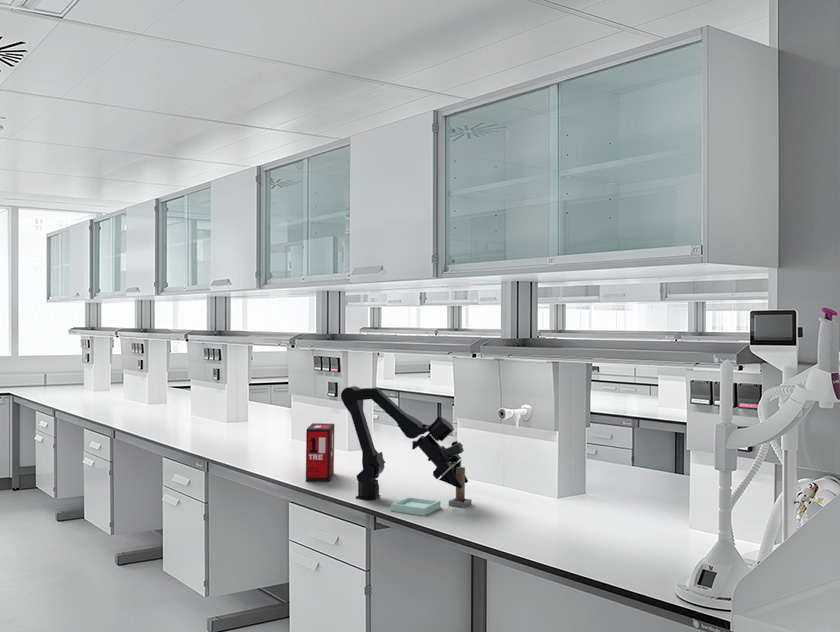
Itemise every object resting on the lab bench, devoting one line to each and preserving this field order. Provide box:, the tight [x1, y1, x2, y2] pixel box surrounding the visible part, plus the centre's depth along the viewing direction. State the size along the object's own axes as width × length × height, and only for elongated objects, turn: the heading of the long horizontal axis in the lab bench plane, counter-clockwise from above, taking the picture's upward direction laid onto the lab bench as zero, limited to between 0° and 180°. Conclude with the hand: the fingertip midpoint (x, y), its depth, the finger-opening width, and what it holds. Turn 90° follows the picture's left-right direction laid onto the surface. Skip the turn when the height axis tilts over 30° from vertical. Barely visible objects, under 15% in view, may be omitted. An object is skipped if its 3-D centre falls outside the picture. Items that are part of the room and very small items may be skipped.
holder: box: [448, 497, 472, 509], centre depth 260 cm, size 6×6×2 cm
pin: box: [455, 466, 466, 502], centre depth 260 cm, size 3×3×12 cm
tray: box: [390, 496, 441, 517], centre depth 253 cm, size 12×12×2 cm
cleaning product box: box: [305, 422, 335, 483], centre depth 302 cm, size 16×9×20 cm, turn 0°
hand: (464, 484), depth 259 cm, fingers open, 9 cm apart
